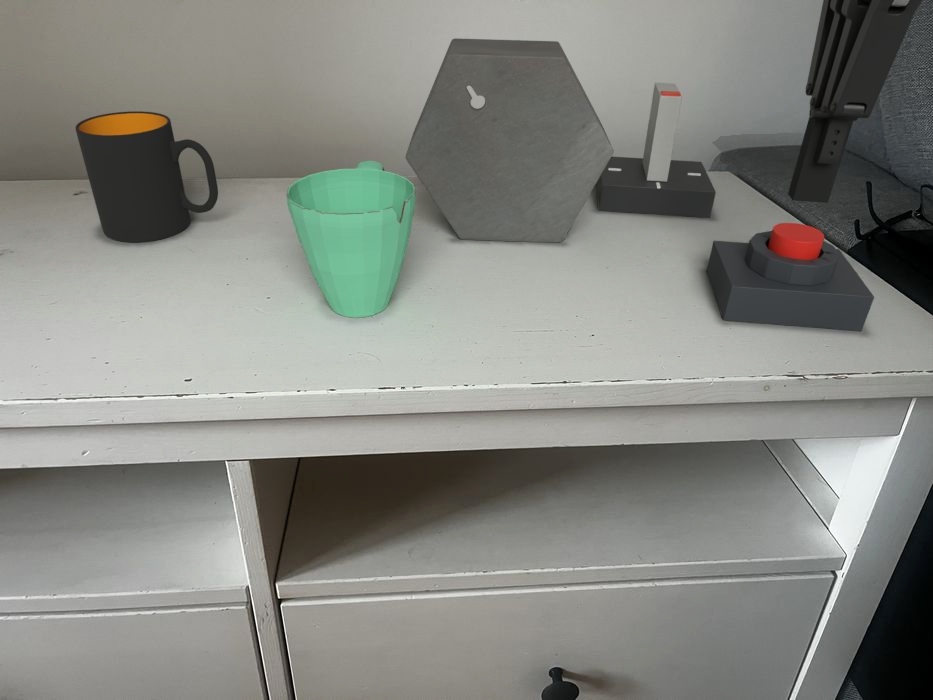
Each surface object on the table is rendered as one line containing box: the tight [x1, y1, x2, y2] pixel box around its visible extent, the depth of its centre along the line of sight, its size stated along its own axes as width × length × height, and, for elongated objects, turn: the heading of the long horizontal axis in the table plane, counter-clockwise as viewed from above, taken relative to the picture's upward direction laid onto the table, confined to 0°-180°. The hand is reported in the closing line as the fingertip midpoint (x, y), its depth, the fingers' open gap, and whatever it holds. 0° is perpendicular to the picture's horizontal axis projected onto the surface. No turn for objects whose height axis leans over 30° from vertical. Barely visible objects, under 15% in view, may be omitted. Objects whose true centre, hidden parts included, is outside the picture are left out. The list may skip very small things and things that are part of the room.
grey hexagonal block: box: [405, 37, 615, 243], centre depth 70 cm, size 17×8×21 cm
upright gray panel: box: [642, 82, 683, 182], centre depth 79 cm, size 6×2×9 cm, turn 173°
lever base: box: [596, 156, 717, 219], centre depth 82 cm, size 12×10×3 cm
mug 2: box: [285, 160, 416, 319], centre depth 60 cm, size 15×10×10 cm
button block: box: [706, 230, 875, 332], centre depth 61 cm, size 11×9×5 cm
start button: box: [768, 222, 825, 260], centre depth 60 cm, size 4×4×2 cm
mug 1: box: [75, 110, 219, 244], centre depth 70 cm, size 8×12×10 cm
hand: (807, 198), depth 58 cm, fingers closed
